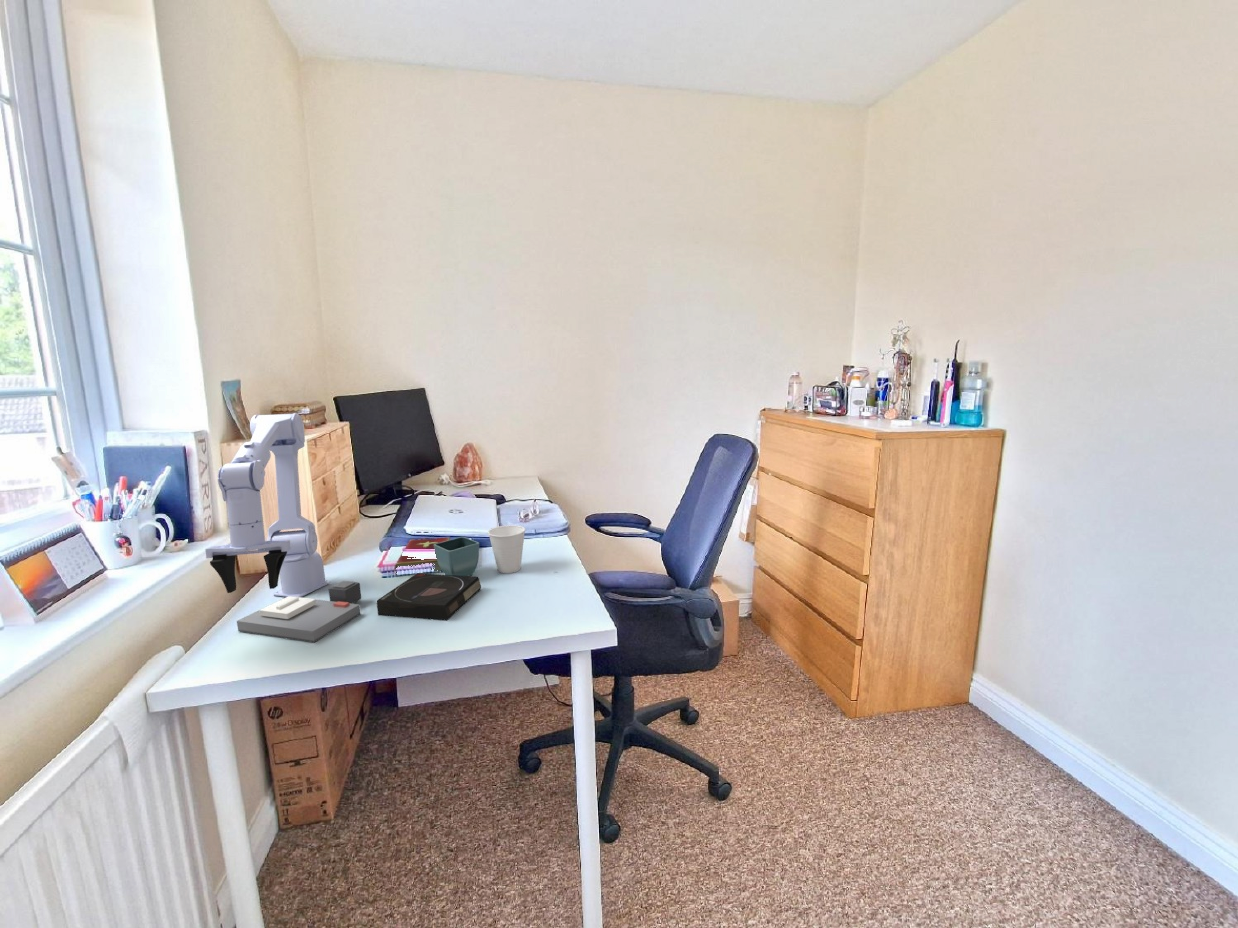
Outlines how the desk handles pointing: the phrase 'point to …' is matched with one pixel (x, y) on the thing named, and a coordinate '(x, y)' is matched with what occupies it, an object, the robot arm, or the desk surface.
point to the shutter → (287, 607)
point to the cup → (507, 547)
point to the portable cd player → (429, 596)
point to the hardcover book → (420, 545)
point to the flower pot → (457, 556)
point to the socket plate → (302, 621)
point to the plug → (345, 592)
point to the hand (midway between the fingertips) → (252, 589)
